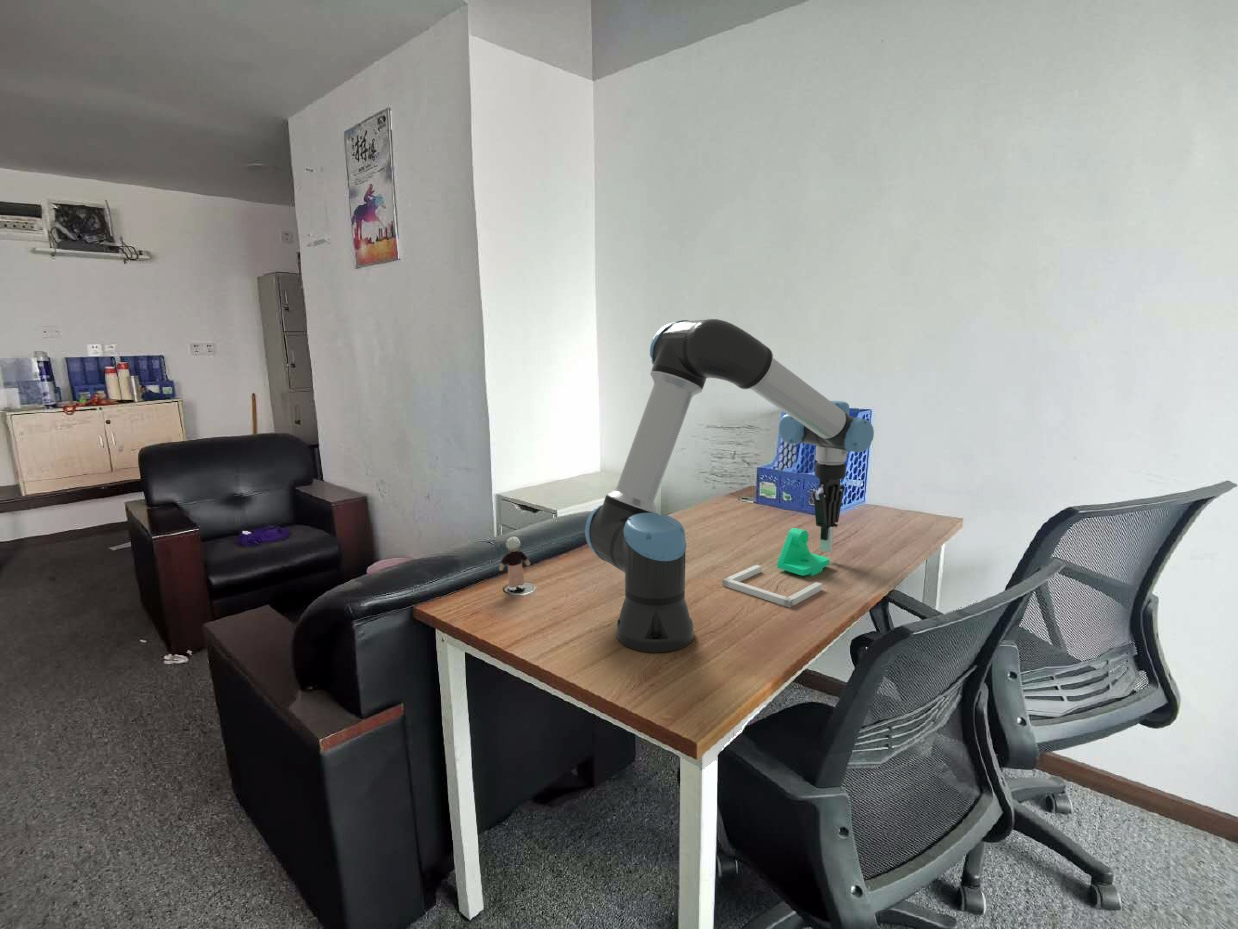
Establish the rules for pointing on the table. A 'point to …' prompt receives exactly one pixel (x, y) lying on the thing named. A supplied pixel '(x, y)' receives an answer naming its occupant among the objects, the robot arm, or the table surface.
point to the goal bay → (789, 601)
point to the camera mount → (800, 555)
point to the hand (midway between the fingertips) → (825, 550)
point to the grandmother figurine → (514, 562)
